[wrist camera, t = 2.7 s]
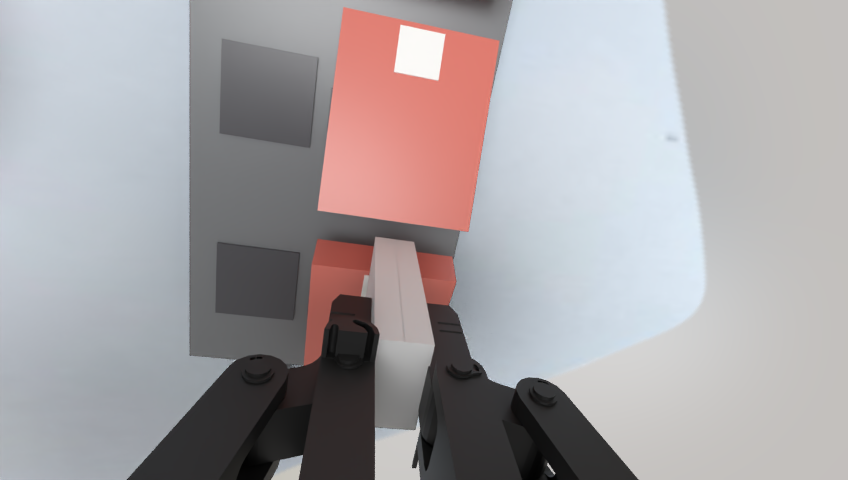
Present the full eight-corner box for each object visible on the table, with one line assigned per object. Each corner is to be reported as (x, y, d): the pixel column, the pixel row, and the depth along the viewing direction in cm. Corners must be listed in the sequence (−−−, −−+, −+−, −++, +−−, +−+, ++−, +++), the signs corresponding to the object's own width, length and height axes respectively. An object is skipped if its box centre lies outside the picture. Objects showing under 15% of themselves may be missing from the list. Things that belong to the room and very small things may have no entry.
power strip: (211, 374, 27) (181, 434, 23) (225, -298, 16) (174, -423, 12) (409, 390, 29) (415, 448, 25) (536, -201, 18) (585, -279, 14)
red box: (320, 208, 18) (317, 210, 16) (344, 23, 17) (343, 6, 15) (458, 227, 19) (469, 232, 17) (487, 53, 18) (500, 40, 16)
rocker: (307, 351, 22) (302, 380, 21) (317, 239, 18) (311, 265, 17) (419, 361, 23) (420, 390, 22) (452, 256, 19) (456, 283, 18)
